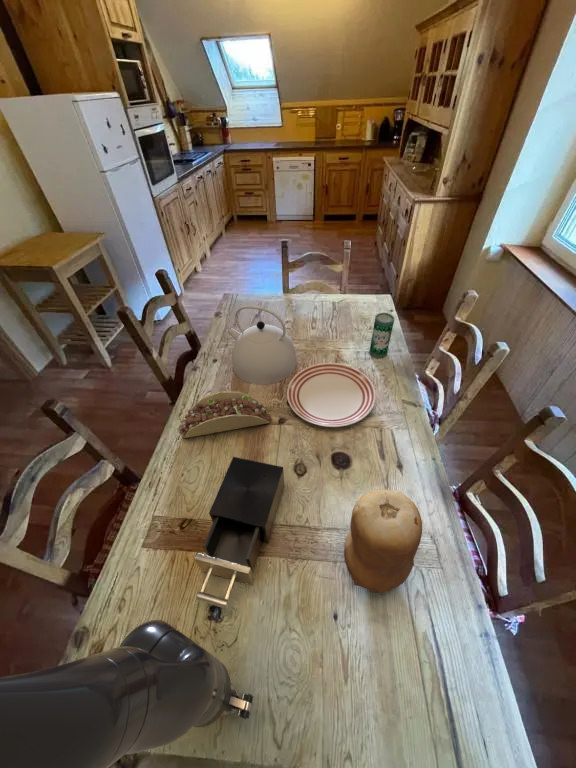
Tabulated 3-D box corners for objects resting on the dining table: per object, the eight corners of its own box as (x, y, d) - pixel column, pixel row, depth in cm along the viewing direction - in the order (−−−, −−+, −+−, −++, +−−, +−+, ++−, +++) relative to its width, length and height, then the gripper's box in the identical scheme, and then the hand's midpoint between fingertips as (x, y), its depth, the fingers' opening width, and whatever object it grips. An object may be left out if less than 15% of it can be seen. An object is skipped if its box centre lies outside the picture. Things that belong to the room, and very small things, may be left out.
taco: (274, 431, 99) (271, 408, 92) (180, 448, 96) (170, 425, 89) (268, 407, 106) (266, 383, 99) (180, 422, 103) (171, 399, 96)
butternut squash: (359, 521, 80) (374, 462, 62) (415, 555, 74) (449, 501, 56) (329, 575, 72) (337, 524, 54) (389, 618, 66) (420, 577, 48)
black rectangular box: (268, 544, 77) (265, 527, 70) (216, 530, 79) (208, 513, 73) (284, 486, 87) (283, 466, 80) (238, 476, 89) (233, 456, 83)
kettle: (215, 373, 118) (201, 318, 102) (245, 336, 133) (237, 283, 117) (281, 391, 111) (277, 335, 95) (305, 350, 126) (305, 295, 110)
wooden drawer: (242, 618, 66) (237, 609, 61) (189, 602, 68) (179, 591, 63) (271, 522, 79) (268, 507, 74) (225, 511, 81) (220, 496, 76)
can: (368, 357, 122) (375, 321, 111) (369, 346, 126) (375, 311, 116) (386, 359, 121) (394, 323, 110) (386, 348, 125) (394, 313, 114)
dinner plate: (299, 441, 96) (299, 434, 94) (279, 377, 116) (278, 370, 113) (389, 422, 100) (391, 415, 98) (355, 363, 120) (356, 356, 117)
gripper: (137, 706, 45) (171, 712, 57) (238, 745, 42) (252, 742, 54) (165, 639, 50) (191, 656, 62) (256, 670, 48) (266, 682, 60)
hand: (219, 696), depth 58 cm, fingers closed on copper tin, 5 cm apart
